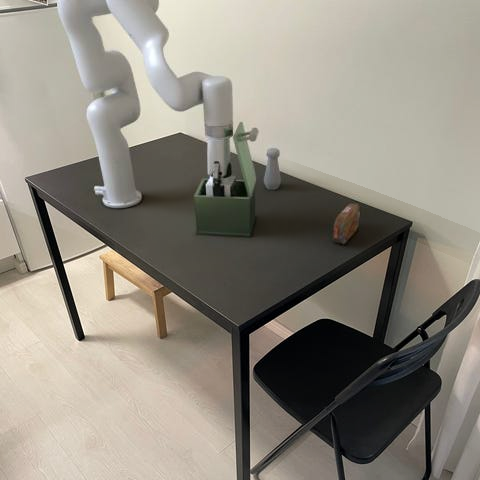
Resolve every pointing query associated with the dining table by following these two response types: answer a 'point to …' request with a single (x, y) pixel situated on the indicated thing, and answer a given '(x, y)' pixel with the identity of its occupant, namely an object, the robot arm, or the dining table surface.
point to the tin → (347, 223)
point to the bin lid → (245, 155)
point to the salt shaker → (272, 170)
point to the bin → (224, 212)
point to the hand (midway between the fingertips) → (221, 192)
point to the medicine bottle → (224, 183)
